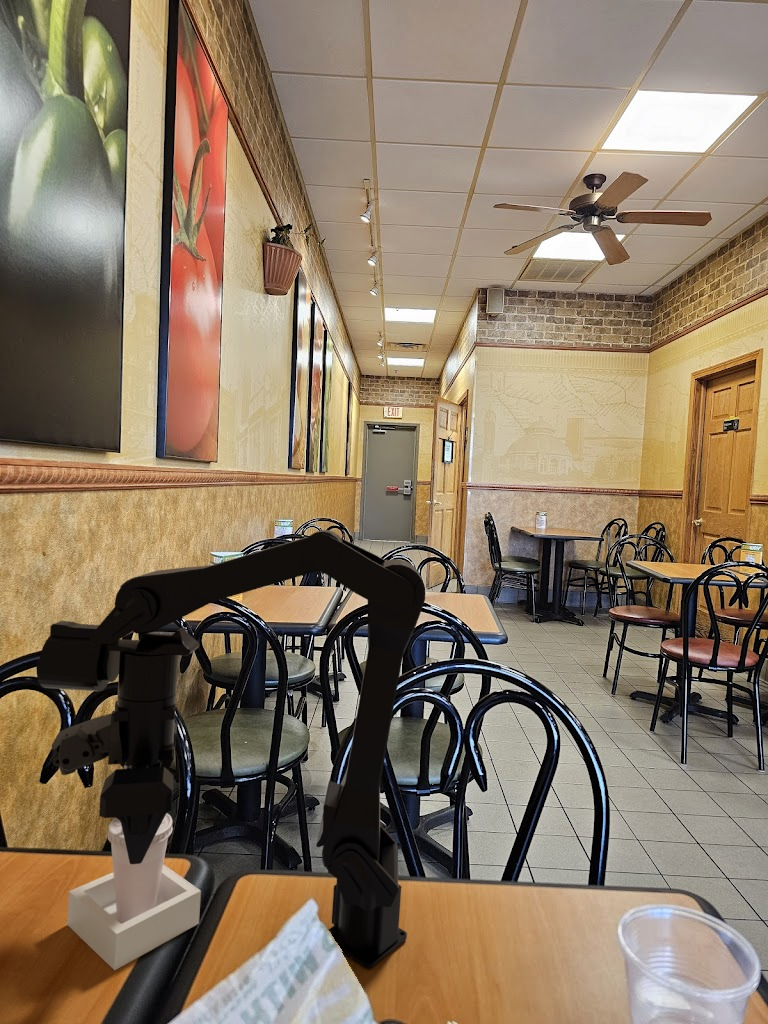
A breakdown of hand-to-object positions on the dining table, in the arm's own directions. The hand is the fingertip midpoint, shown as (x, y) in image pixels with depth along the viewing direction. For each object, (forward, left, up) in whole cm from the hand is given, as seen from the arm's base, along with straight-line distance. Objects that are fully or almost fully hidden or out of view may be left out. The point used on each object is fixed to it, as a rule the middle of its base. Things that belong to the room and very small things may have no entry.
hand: (138, 842), depth 68 cm
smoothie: (0, 0, -8) cm, 8 cm away
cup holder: (0, 0, -9) cm, 9 cm away
